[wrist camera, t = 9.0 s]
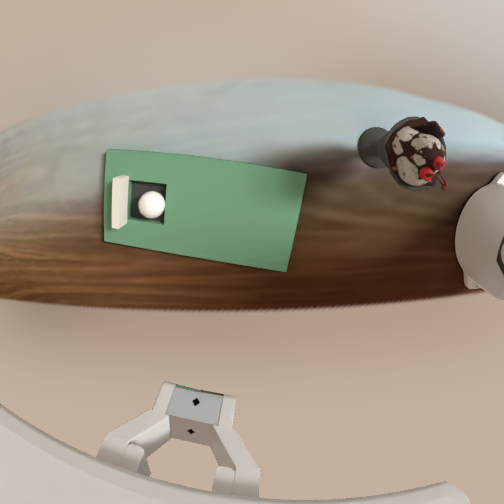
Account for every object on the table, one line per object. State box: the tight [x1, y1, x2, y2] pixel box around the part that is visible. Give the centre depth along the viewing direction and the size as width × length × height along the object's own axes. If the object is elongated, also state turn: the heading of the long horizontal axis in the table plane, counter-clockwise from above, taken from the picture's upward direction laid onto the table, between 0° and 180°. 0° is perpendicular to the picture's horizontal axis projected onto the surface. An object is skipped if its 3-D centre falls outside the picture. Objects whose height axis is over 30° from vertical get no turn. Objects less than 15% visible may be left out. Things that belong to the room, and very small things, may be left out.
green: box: [104, 149, 307, 272], centre depth 33 cm, size 24×12×4 cm, turn 81°
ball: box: [138, 191, 165, 218], centre depth 33 cm, size 3×3×3 cm
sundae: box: [359, 117, 448, 191], centre depth 24 cm, size 7×7×15 cm
